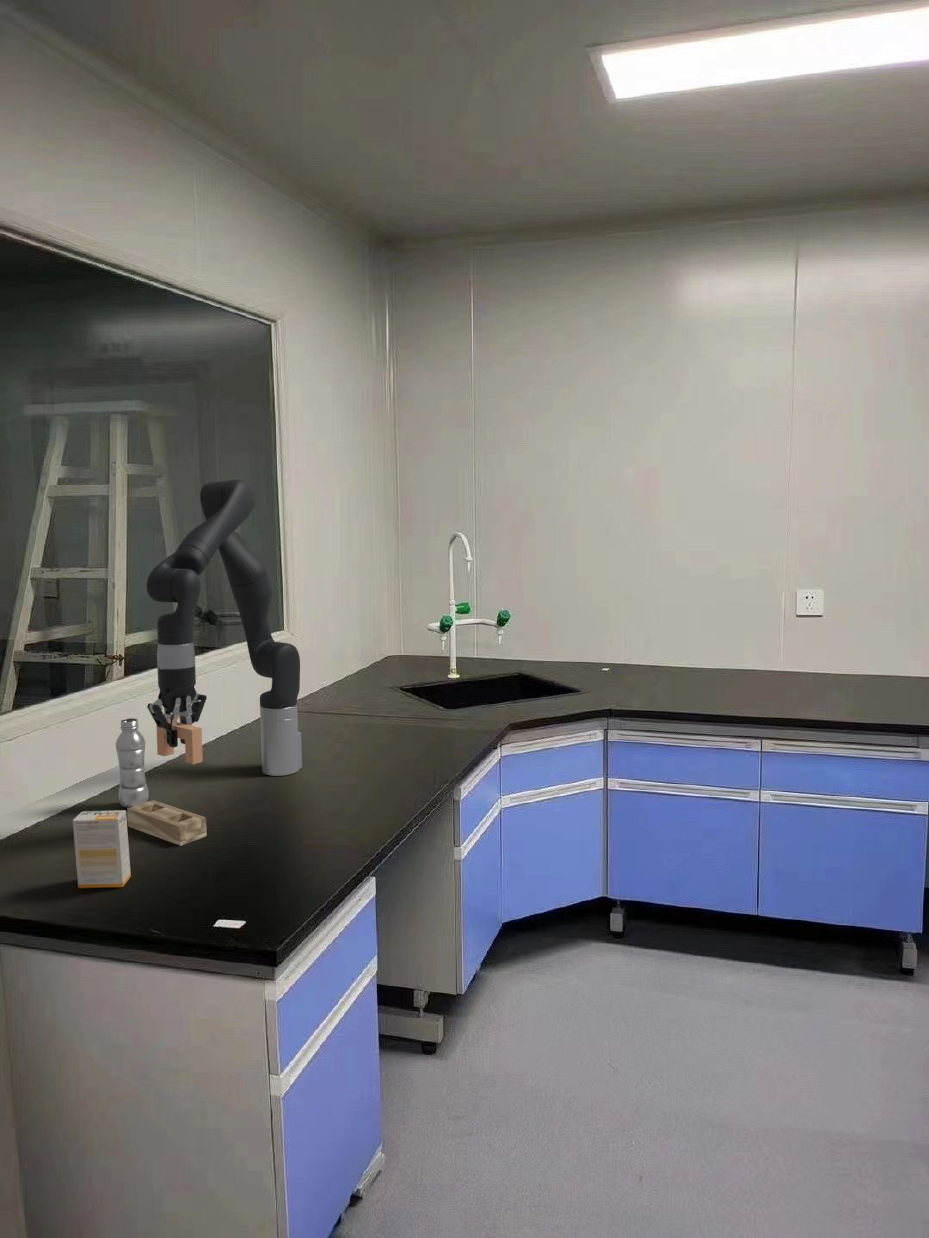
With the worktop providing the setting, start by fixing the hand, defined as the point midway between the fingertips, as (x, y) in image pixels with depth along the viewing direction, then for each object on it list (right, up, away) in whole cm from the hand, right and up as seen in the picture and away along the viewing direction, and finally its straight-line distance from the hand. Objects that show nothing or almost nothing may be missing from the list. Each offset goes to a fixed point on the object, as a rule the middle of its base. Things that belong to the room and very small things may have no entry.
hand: (179, 744), depth 189 cm
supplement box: (-6, -22, -25) cm, 34 cm away
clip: (0, -3, 0) cm, 3 cm away
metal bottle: (-15, -16, +15) cm, 27 cm away
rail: (-3, -18, 0) cm, 18 cm away
